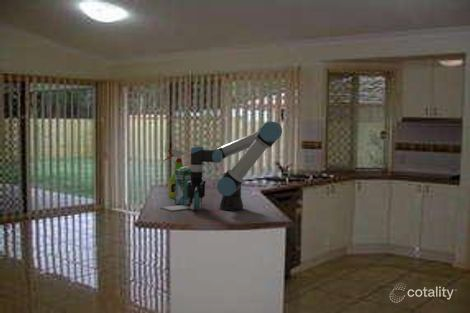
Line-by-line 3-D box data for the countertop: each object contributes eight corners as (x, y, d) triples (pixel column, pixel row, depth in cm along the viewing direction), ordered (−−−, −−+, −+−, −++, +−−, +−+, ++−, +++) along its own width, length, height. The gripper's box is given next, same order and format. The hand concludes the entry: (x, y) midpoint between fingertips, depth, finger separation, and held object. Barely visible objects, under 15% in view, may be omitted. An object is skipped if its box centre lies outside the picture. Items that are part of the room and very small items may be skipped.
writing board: (183, 205, 332) (183, 204, 332) (195, 208, 322) (195, 207, 322) (159, 208, 320) (159, 207, 320) (171, 211, 310) (171, 210, 310)
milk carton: (174, 203, 339) (175, 166, 337) (184, 202, 346) (185, 165, 344) (183, 205, 333) (184, 167, 331) (193, 204, 340) (194, 166, 338)
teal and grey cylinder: (196, 209, 319) (196, 189, 318) (199, 210, 316) (200, 190, 316) (191, 210, 317) (191, 190, 316) (194, 211, 314) (195, 190, 313)
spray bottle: (161, 196, 371) (161, 148, 368) (185, 195, 376) (186, 148, 374) (164, 199, 358) (164, 149, 355) (189, 198, 363) (190, 149, 361)
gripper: (203, 170, 323) (203, 206, 325) (181, 171, 312) (180, 209, 314) (211, 171, 318) (210, 208, 319) (188, 172, 306) (187, 210, 308)
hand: (195, 208), depth 316 cm, fingers open, 4 cm apart
